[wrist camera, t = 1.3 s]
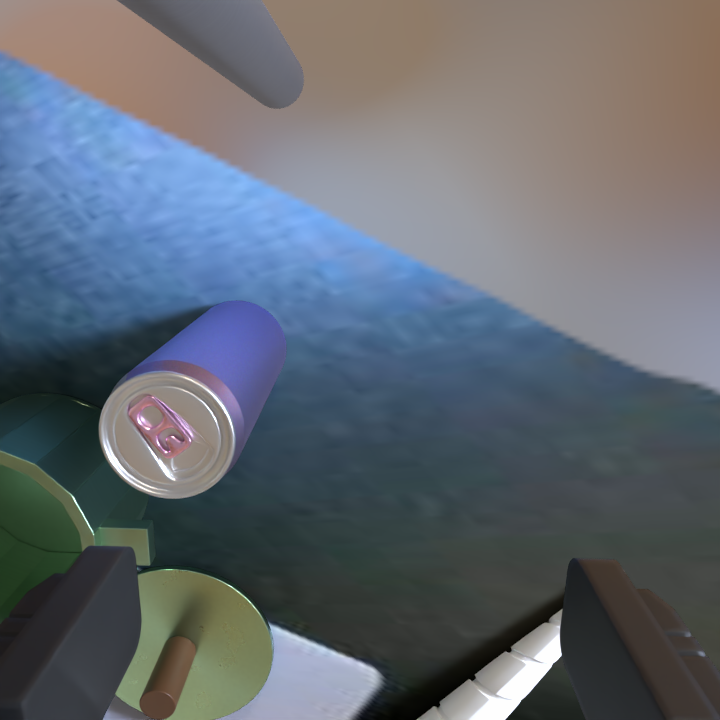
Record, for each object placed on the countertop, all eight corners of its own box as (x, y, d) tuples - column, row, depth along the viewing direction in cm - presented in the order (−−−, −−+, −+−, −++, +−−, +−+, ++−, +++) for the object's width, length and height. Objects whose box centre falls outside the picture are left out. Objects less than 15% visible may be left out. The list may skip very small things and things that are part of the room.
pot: (-88, 388, 40) (-203, 441, 32) (183, 396, 40) (135, 451, 32) (-56, 553, 44) (-153, 638, 36) (193, 561, 44) (152, 648, 36)
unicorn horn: (654, 598, 44) (686, 646, 39) (412, 771, 49) (416, 832, 44) (613, 556, 43) (641, 601, 38) (371, 737, 48) (371, 796, 43)
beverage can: (248, 279, 38) (173, 339, 24) (306, 354, 39) (268, 453, 25) (176, 333, 39) (62, 422, 25) (235, 404, 40) (159, 528, 26)
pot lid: (85, 557, 44) (41, 614, 38) (273, 563, 44) (258, 622, 38) (103, 707, 48) (65, 781, 42) (276, 713, 48) (263, 788, 42)
